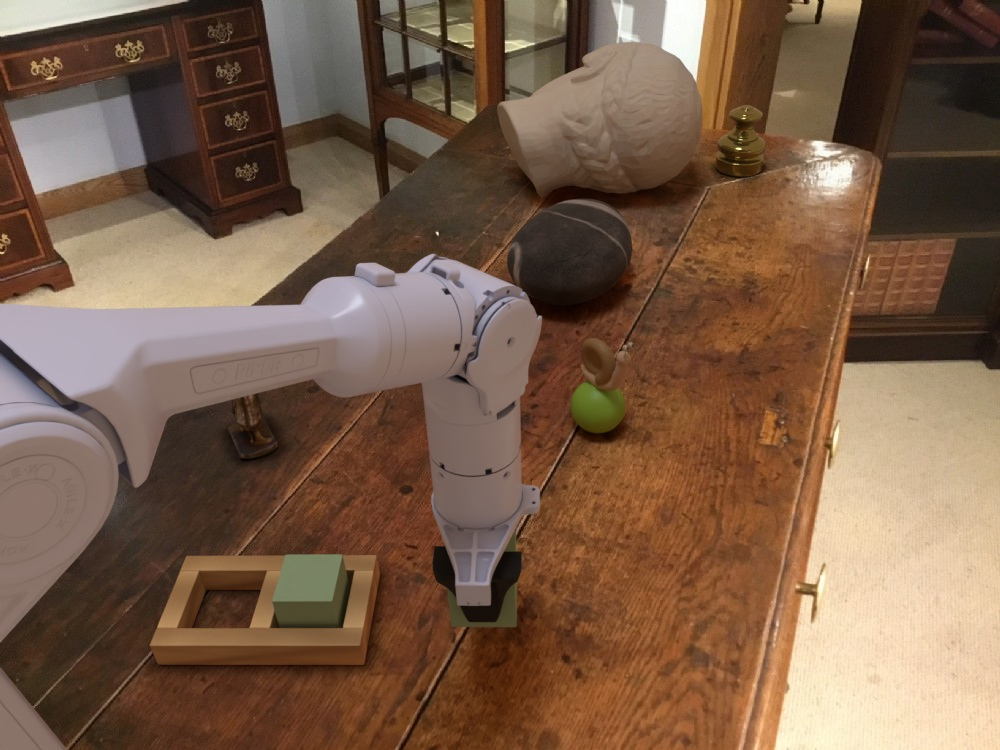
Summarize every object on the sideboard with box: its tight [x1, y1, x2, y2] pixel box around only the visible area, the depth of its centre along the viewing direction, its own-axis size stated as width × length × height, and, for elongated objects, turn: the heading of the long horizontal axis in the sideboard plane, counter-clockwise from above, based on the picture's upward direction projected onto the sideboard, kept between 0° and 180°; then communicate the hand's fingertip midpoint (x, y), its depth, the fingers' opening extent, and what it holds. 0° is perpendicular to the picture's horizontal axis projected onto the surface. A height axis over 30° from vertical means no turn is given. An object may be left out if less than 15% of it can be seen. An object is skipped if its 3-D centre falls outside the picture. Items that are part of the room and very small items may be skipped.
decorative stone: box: [506, 198, 633, 307], centre depth 106 cm, size 19×14×10 cm
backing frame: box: [149, 554, 381, 666], centre depth 68 cm, size 9×16×2 cm, turn 89°
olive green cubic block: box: [446, 529, 518, 628], centre depth 60 cm, size 5×5×5 cm
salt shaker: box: [714, 104, 767, 178], centre depth 133 cm, size 7×7×10 cm
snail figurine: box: [570, 337, 634, 434], centre depth 82 cm, size 5×6×12 cm
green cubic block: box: [272, 553, 350, 628], centre depth 67 cm, size 5×5×5 cm
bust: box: [496, 41, 704, 199], centre depth 127 cm, size 21×24×30 cm
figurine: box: [227, 393, 279, 460], centre depth 81 cm, size 7×4×15 cm, turn 28°
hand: (484, 588), depth 61 cm, fingers closed on olive green cubic block, 4 cm apart
